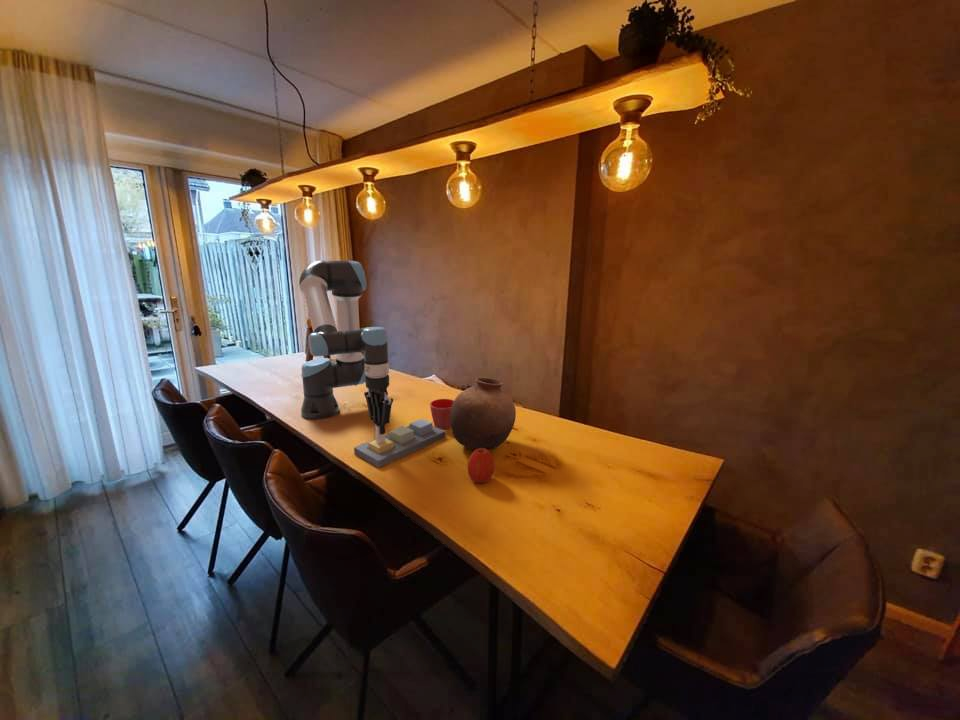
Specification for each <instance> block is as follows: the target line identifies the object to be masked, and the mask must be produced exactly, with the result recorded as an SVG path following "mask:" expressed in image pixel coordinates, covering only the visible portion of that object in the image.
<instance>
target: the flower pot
mask: <svg viewBox="0 0 960 720" xmlns="http://www.w3.org/2000/svg"><path fill="white" fill-rule="evenodd" d="M454 400H455V399H450V398H449V399H448V398H438V399H433V400H432V401H431V402H430V403H429V407H430V412H431V417H432V421H433V422H432V423H433V426H434V427H437V428H439V429H442V430H448V429H451V424H450V416H451V409H452V405H453V403H454Z"/></svg>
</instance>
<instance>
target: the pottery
mask: <svg viewBox="0 0 960 720" xmlns="http://www.w3.org/2000/svg"><path fill="white" fill-rule="evenodd" d="M475 382H476V385H474V386H470V387H468V388H466V389H465V390H463V391H461V392H460V393H458V395H457V396H456V397H455V399H453V400H454V403H453V405H452V409H451V416H450V424H451V428H450V429H451V432H452V435H453V437H454V439H455V441H456V442H457V443H458V444H460V445H462V446H464V447H466V448H468V449H471V450H474V451H475V450H476V449H479V448H484V449H486V450H488V451H492V450H495V449H497V448H498V447H500V446H501V445H502V444H504V443H505V442H506V441H507V439H508V438H509V436H510V435H511V433H512V431H513V428H514V425H515V422H516V416H517V414H516V412H517V411H516V406H515V403H514V402H513V400H512V398H511V397H510V396H509V395H508V394H507V393H506V392H505V391H503V390H502V388H501V387H502V386H503V385H504V382H503V381H501V380H498V379H495V378H490V377H489V378H488V377H476V378H475Z"/></svg>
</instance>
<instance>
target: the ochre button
mask: <svg viewBox="0 0 960 720" xmlns="http://www.w3.org/2000/svg"><path fill="white" fill-rule="evenodd" d="M372 440H373V441H371V440H370V441H371V442H369V441H367V442H368V449H369V450H371V451H373V452H375V453H377V454H381V453H383V452H386V451H388V450H390V449H393V448H394V443H393V441H391V440H388V439H386V438H385V442H382V443H380V444H378V443H376V440H374V439H372Z"/></svg>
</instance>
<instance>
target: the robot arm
mask: <svg viewBox="0 0 960 720" xmlns="http://www.w3.org/2000/svg"><path fill="white" fill-rule="evenodd" d="M298 283H299V291H300V292H301V293H302V295H303V296H304V298H305V303H306V307H307V312H308V315H309V320H310V324H311V328H312V333H309V334H308V337H307V338H308V347H309V348H308V349H309V352H310V355H311V356H313V357H319V358H315V359H311V360H308V361H306V362H304V363H303V364H302V365H301V377H302V379H301V380H302V388H303V389H302V390H303V401H302V405H301V408H300V412H301V417H303V418H305V419H309V420H321V419H325V418H330V417H332V416H336V415H337V414H338V413H339V412H340V406H339V404H338V401H337V399H336V396H335V394H334V389H337V388H345V387H352V386H359V385H363V384H365V388H366V389H367V390H368V391H366V392H364V393H363V395H364V397H365V399H366V405H367V410H368V417H369V419H370V421H372V422H373V424H374V430H375V431H374V432H375V439H376V443H378V444H380V443H382V442H385V435H386V425H388V424H390V421H391V420H390V419H391V412H392V405H393V403H394V399H393V398H390V397H389V396H388V395H389V392H388V387H389V386H390V375H389V374H390V367H389V366H390V365H389V364H390V363H389V349H388V347H389V346H388V341H389V338H388V332H387V329H386V328H385V327H383V326H369V327H368V326H367V327H361V328H360V313H359V312H360V311H359V309H360V308H359V299H360V298H361V297H362V296H363V291H366V289H367V279H366V273H365V270H364V268H363V264H361V262H359V261H355V260H324V259H323V260H322V259H321V260H316V261H314V262H312V263H310V264H309V265H307V266H306V267H304V269H303V271H302V272H301V273H300V276H299V281H298ZM327 291H329V292H330V291H331V295H332V296H333V297H334V299H336V300H335V301H336V316H337V318H336V319H337V325H336V321H335V317H334V313H333V310H332V308H331V307H332V306H331V304H330V300H329V297H328V293H327ZM334 355H336V356H335V360H333V361H332V360H331V359H330V358H328V357H327V356H334ZM321 357H322V358H321Z"/></svg>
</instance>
